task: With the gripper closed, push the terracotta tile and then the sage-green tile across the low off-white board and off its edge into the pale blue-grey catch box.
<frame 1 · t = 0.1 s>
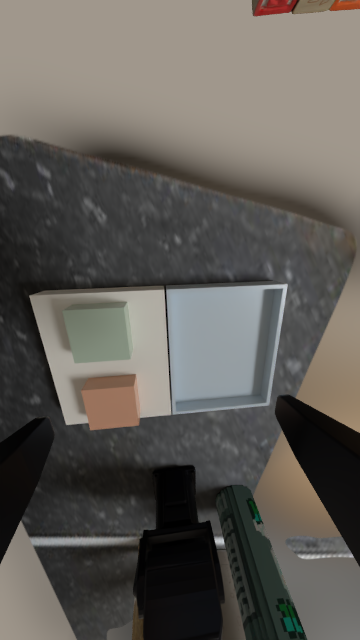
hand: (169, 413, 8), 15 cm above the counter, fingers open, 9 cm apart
thermos bottle: (215, 558, 40), on the counter
tile terracotta: (115, 395, 21), point 2 cm above the counter, touching board
catch box: (218, 345, 23), on the counter
tile sage: (104, 328, 19), point 2 cm above the counter, touching board
sprinkles bottle: (150, 541, 36), on the counter
board: (115, 352, 22), on the counter
can: (233, 495, 34), on the counter
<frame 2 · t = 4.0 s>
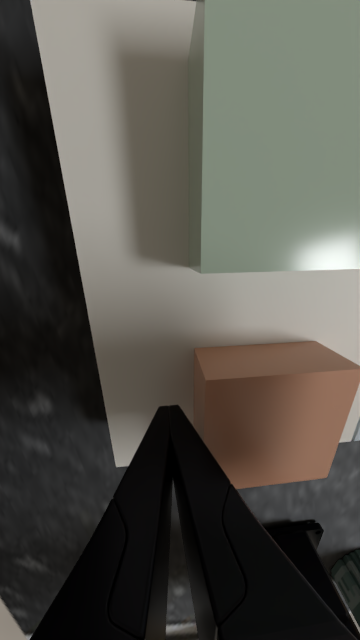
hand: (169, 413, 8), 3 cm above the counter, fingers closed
tile terracotta: (250, 395, 8), point 3 cm above the counter, touching board, gripper
tile sage: (270, 180, 6), point 2 cm above the counter, touching board
board: (232, 294, 9), on the counter
can: (357, 560, 21), on the counter
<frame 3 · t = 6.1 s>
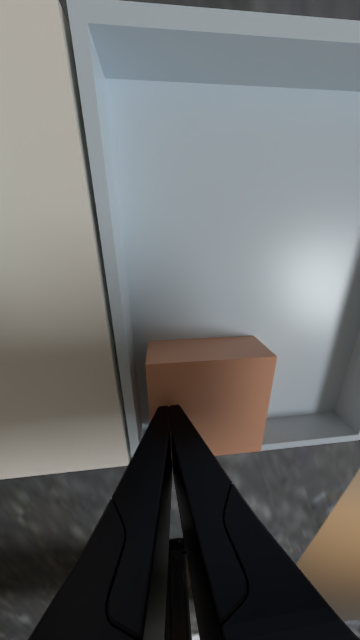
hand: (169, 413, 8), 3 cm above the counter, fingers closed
tile terracotta: (200, 382, 10), point 1 cm above the counter, touching catch box
catch box: (246, 294, 10), on the counter
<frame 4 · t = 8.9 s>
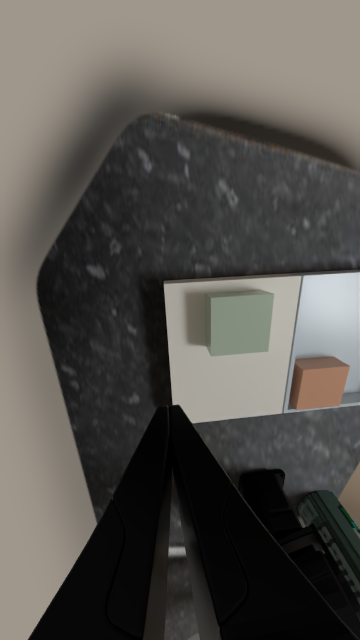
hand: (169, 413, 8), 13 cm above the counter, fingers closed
tile terracotta: (308, 377, 22), point 1 cm above the counter, touching catch box
catch box: (328, 338, 22), on the counter
tile sage: (232, 318, 18), point 2 cm above the counter, touching board
board: (223, 346, 21), on the counter
can: (315, 502, 32), on the counter
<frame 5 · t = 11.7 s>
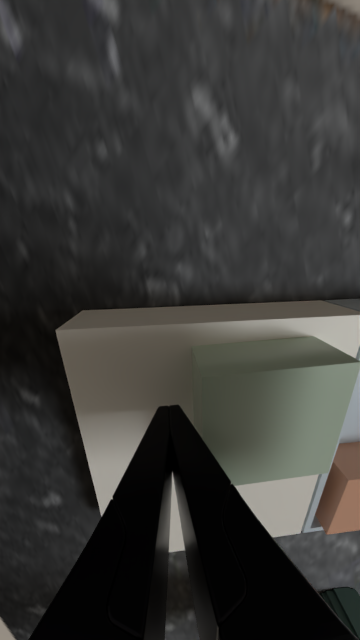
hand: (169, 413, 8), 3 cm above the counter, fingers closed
tile terracotta: (345, 468, 13), point 1 cm above the counter, touching catch box
tile sage: (249, 392, 8), point 2 cm above the counter, touching board, gripper
board: (204, 421, 12), on the counter
can: (330, 598, 23), on the counter
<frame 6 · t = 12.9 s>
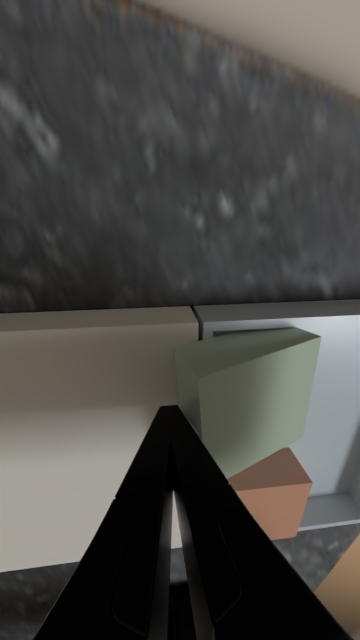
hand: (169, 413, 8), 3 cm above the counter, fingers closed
tile terracotta: (247, 478, 13), point 1 cm above the counter, touching catch box
catch box: (283, 413, 13), on the counter
tile sage: (229, 382, 9), point 2 cm above the counter, tilted 17°, touching catch box, gripper
board: (91, 429, 12), on the counter
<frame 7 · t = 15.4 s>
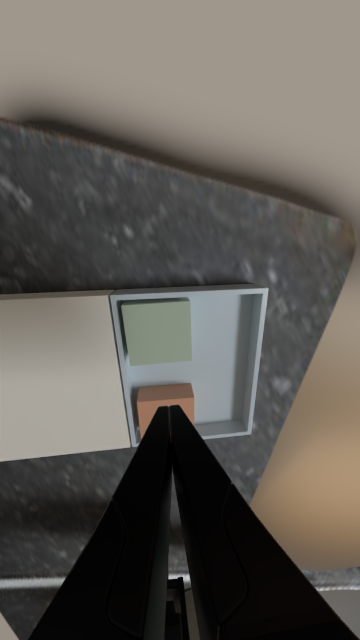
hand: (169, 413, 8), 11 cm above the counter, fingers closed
thermos bottle: (199, 595, 35), on the counter
tile terracotta: (166, 405, 20), point 1 cm above the counter, touching catch box
catch box: (188, 361, 19), on the counter
tile sage: (159, 325, 17), point 1 cm above the counter, touching catch box
board: (60, 371, 18), on the counter
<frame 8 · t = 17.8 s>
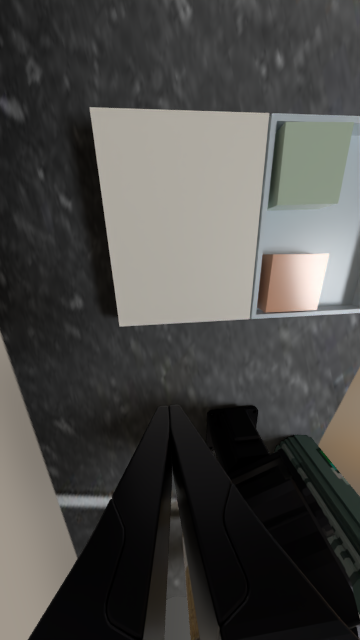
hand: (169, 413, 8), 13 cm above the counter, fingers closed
tile terracotta: (282, 280, 19), point 1 cm above the counter, touching catch box
catch box: (307, 233, 19), on the counter
tile sage: (295, 175, 16), point 1 cm above the counter, touching catch box
sprinkles bottle: (193, 505, 31), on the counter
board: (181, 236, 18), on the counter
can: (293, 449, 29), on the counter
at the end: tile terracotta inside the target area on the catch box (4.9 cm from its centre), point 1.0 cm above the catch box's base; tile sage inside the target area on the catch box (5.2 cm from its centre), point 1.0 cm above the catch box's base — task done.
